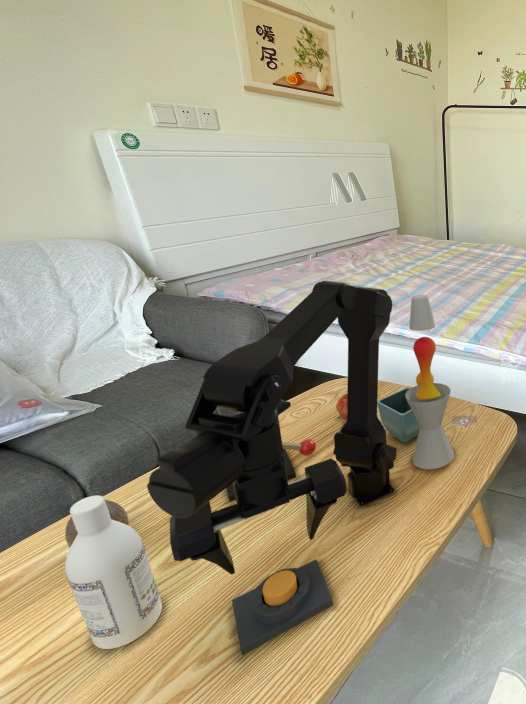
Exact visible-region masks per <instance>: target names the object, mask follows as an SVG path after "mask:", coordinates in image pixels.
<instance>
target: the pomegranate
mask: <svg viewBox="0 0 526 704" xmlns="http://www.w3.org/2000/svg"><path fill="white" fill-rule="evenodd" d="M335 409H336V411H337V412H338V413H339V416H338V417H337V419H340V418H341V419H343V420H345V422H346V421H347V392H346V393H345V394H343V395H342V396H340V398H339V399H338V400H337V402H336V405H335Z"/></svg>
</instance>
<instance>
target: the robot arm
mask: <svg viewBox="0 0 526 704" xmlns="http://www.w3.org/2000/svg"><path fill="white" fill-rule="evenodd" d="M392 311H393V300H392V298H391V295H389V294H388V292H387V291H386V290H385V289H382V288H374V287H366V286H357V285H351V284H350V283H347V282H340V281H332V280H321V281H318V282H316V283H315V284H314V285H313V288H312V290H311V292H310V293H309V294H308V295H306V297H304V298H303V300H301V302H299V303H298V304H297V305H296V306H295V307H294V308H293V309H292V310H291V311H290V312H288V314H286V315H285V317H283V318H282V319H281V320H280V321H279V322H278V323H277V324H276V325H275V326H273V328H271V329H270V330H269V331H268V333H266V334H265V335H264V336H263V337H261V338H260V339H258V340H257V341H254V342H252V343H248V344H245V345H242V346H240V347H237V348H235V349H233V350H231V351H230V352H229V353H227V354H226V355H224V356H222V357H221V358H219V359H218V360H216V361H215V362H213V363H212V364H211V365H210V366H209V368H207V370H206V371H205V373H204V375H203V381H202V382H201V383H202V384H201V386H200V388H199V390H198V394H197V396H196V399H195V401H194V404H193V406H192V409H191V411H190V413H189V415H188V418H187V421H186V423H185V425H184V428H185V430H187V431H192V432H197V433H196V434H197V435H196V436H195V437H193V438H191V439H190V440H188V441H186V442H185V443H183V444H182V445H180V446H177V447H176V448H173V449H171V450H169V451H167V452H166V453H164V454H162V455H160V456H159V457H158V458H157V464H158V468H157V469H155V470H153V471H152V472H151V473H150V475H149V478H148V483H147V484H146V487H147V488H146V489H147V491H148V494H149V496H150V497H151V499H152V500H153V502H154V504H156V505H157V507H158V508H160V509H161V510H162V511H163V512H165V513H166V514H168V515H169V516H171V517H170V518H169V542H170V549H171V552H172V553H171V554H172V557H173V560H174V561H177V562H183V561H186V560H188V559H190V561H193V562H194V561H198V560H200V559H203V560H204V561H207V562H210V563H212V564H214V565H217V566H218V567H219V568H221V569H222V570H224V571H225V572H226V573H228V574H229V575H235V574H236V569H235V566H234V565H235V564H234V561H233V557H232V555H231V552H230V550H229V547H228V545H227V542H226V540H225V537H224V535H223V533H222V531H221V530H222V529H225V528H227V527H230V526H233V525H235V524H238V523H241V522H243V521H246V520H248V519H251V518H253V517H256V516H259V515H261V514H265V513H267V512H270V511H271V510H275V509H276V508H278V507H281V506H283V505H287V504H289V503H290V502H291V501H292V500H294V499H297V498H300V497H303V496H305V498H306V530H307V537H308V538H309V541H311V540H313V539H314V538H315V536H316V533H317V531H318V529H319V527H320V525H321V523H322V521H323V519H324V517H325V515H326V514H327V513H328V511H329V509H330V508H331V506H333V505H335V504H337V503H338V499H340V498H342V497H344V496H345V495H346V494H347V492H348V491H349V493H350V495H351V497H352V498H353V499H354V500H356V502H357V504H358V506H359V507H363V506H366V505H368V504H370V503H372V502H374V501H377V500H379V499H382V498H383V497H387V496H388V495H392V494H393V493H394V492H395V488H394V486H392V484H391V477H390V470H392V469H394V468H395V463H394V462H395V461H396V459H397V451H398V447H395V446H392V445H390V444H388V443H387V430H386V428H385V427H384V425H383V423H382V421H381V419H379V417H378V404H377V401H378V396H379V395H378V391H379V358H380V357H379V356H380V355H379V354H380V337H381V336H382V334H383V333H384V332H385V330H386V329H387V328H388V326H389V324H390V320H391V319H390V318H391V314H392ZM335 321H337V324H338V325H339V327H340V329H341V330H342V332H343V333H344V335H345V337H346V339H347V392H346V393H347V421H346V420H345V423H344V424H343V425H342V427H341V428H340V430H339V431H337V432H335V433H334V435H333V440H334V445H333V446H334V447H333V452H332V455H333V456H335V460H334V459H333V458H329V459H326V460H323V461H319V462H316V463H314V464H311V465H308V466H306V467H305V468H304V475H305V477H302V478H299V479H296V480H294V481H291V482H289V480H288V479H287V472H286V465H285V458H284V452H283V445H282V442H283V439H282V431H281V425H280V419H279V416H280V415H281V414H282V413H284V412H285V411H286V410H288V409H290V407H291V405H292V403H291V402H290V401H287V400H284V399H282V398H283V397H284V395H285V393H286V392H287V391H288V389H289V388H290V386H291V385H292V383H293V381H294V380H293V379H294V367H295V366H296V364H297V363H298V361H299V360H300V359H301V358H302V357H303V356H304V355H305V354H306V352H308V350H310V348H311V347H312V346H313V345H314V344H315V343H316V342H317V340H318V339H319V338H320V337H321V336H323V334H324V333H325V332H326V330H327V329H329V328H330V326H331V325H332V324H333V323H334V322H335ZM218 408H219V409H224V410H229V411H235V412H237V413H234V414H233V416H228V415H223V414H218V413H214V412H215V411H216V409H218ZM338 463H339V464H340V466H341V467H347V468H349V472H348V473H347V474H346V475H347V480H346V477H345V475H344V472H343V471H342V470H341V468H340V466H339V464H338ZM231 484H232V486H233V491H234V496H235V498H236V500H235V502H236V503H234V504H231V505H229V506H225V507H223V508H219V509H217V510H215V511H212V506H211V501H212V500H213V499H214V498H216V497H217V496H218V495H220V494H221V493H222V492H223V491H225V490H227V489H226V488H227V487H228V486H229V485H231ZM347 484H348V488H347Z"/></svg>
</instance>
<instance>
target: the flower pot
mask: <svg viewBox="0 0 526 704" xmlns="http://www.w3.org/2000/svg"><path fill="white" fill-rule="evenodd" d="M411 388H412V387H411ZM411 388H410V387H404V388H402V389H400V390H398V391H395V392H393V393H391V394H389V395H387V396H385V397H383V398H381V399H379V400H378V399H377V409H378V413H379V417H380V422H381V424H382V425H383V427H384V429H385V430H386V432H388V433H389V434H390V436H392V437H394V438H395V439H398V440H399V441H401V442H402V443H407V442H409V441H411V440H412V439H414V438H417V437H418V434H419V430H420V425H419V423H418V421H417V419H416V418H415V416H414V414H413V412H412V410H411V408H410V406H409V404H408V402H407V400H406V396H405V394H406V392H407V391H408V390H409V389H411Z"/></svg>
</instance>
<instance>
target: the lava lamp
mask: <svg viewBox="0 0 526 704" xmlns="http://www.w3.org/2000/svg"><path fill="white" fill-rule="evenodd" d="M430 303H431V302H430V299H429V297H428V296H427V295H426V294H416V295H413V296H412V297H411V301H410V314H409V315H410V316H409V327H408V328H409V330H411V331H415V332H422V331H428V330H432V329H434V328H435V327H436V323H435V319H434V316H433V311H432V307H431V304H430ZM412 347H413V348H412V350H413V353H414V355H415V358H416V361H417V363H418V367H419V373H418V374H417V375H416V378H415V382H416V385H415V386H413V387H411V389H409V390H408V391H407V392H406V394H405V396H406V400H407V402H408V404H409V406H410V408H411V410H412V412H413V414H414V416H415V418H416V419H417V421H418V423H419V425H420V430H419V434H418V436H417V439H416V442H415V447H414V452H413V455H412V464H413V465H415V467H417V468H419V469H421V470H436V469H440V468H443V467H445V466H447V465H448V464H450V463H451V462H452V461H453V460H454V457H455V452H454V450H453V447H452V445H451V443H450V441H449V438H448V437H447V433H446V431H445V429H444V427H443V424H442V422H443V420H444V415H445V413H446V409H447V405H448V402H449V398H450V394H451V387H449V386H448V385H446V384H444V383H439V382H434V381H435V377H434V374H433V373H432V372H431V371H432V370H431V368H432V363H433V359H434V355H435V353H436V350H437V346H436V342H435V340H433V338H431V337H429V336H421V337H418V338H417V339H416V340H415V341H414V343H413V346H412Z"/></svg>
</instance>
